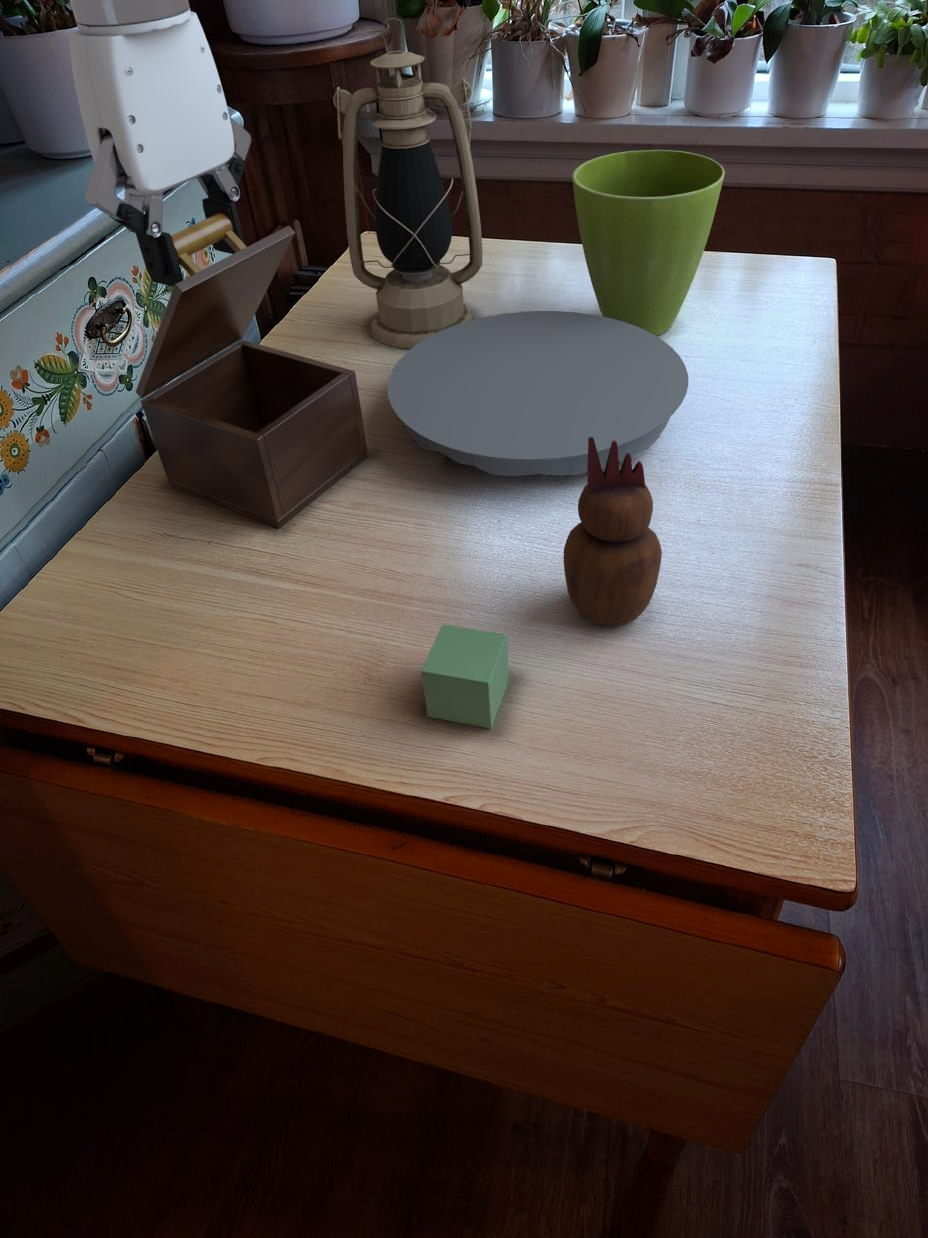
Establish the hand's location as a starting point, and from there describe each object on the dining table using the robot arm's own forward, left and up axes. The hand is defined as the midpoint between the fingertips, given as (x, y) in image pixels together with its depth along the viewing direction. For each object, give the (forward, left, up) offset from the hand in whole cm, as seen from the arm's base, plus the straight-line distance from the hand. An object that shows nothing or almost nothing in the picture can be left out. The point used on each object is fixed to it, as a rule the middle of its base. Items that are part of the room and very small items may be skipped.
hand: (199, 265), depth 72 cm
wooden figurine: (+26, -28, -19) cm, 43 cm away
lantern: (+21, +24, -19) cm, 37 cm away
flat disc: (+28, 0, -19) cm, 33 cm away
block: (+14, -34, -19) cm, 41 cm away
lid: (0, 0, -4) cm, 4 cm away
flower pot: (+44, +16, -19) cm, 50 cm away
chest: (+2, -2, -19) cm, 19 cm away
